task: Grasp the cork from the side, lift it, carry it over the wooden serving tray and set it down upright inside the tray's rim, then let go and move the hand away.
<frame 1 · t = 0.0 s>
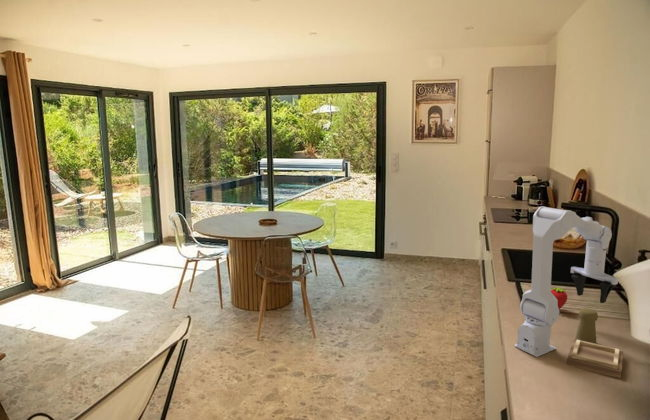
hand: (591, 298, 149), 10 cm above the counter, tool pointing down, fingers open, 7 cm apart
strawberry: (557, 310, 165), on the counter
wooden serving tray: (594, 361, 129), on the counter
cork: (585, 342, 140), on the counter
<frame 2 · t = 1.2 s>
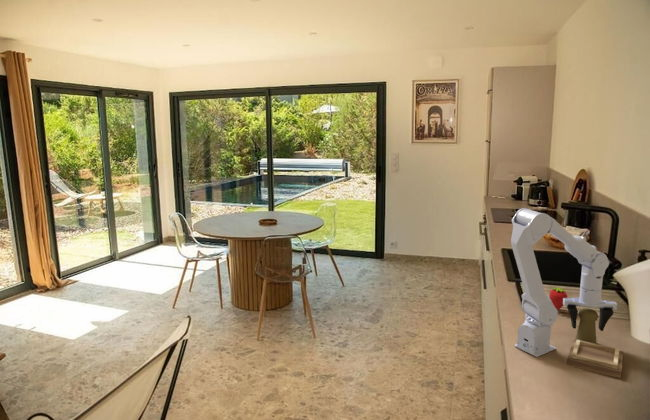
hand: (587, 328, 139), 5 cm above the counter, tool pointing down, fingers open, 7 cm apart
nothing on the counter moved.
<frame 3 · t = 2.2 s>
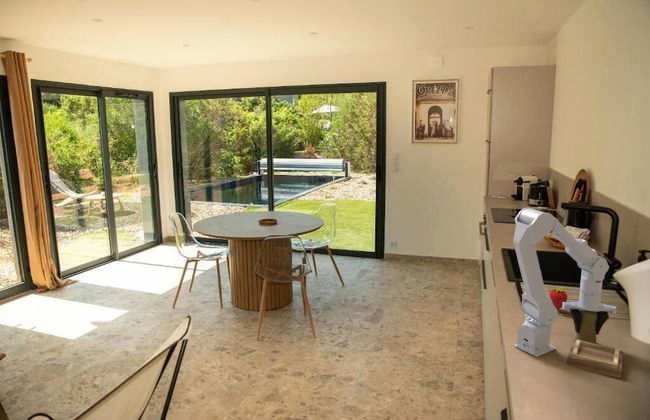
hand: (586, 332, 139), 3 cm above the counter, tool pointing down, fingers closed on cork, 5 cm apart
cork: (585, 342, 140), on the counter, touching gripper
everything else where it was.
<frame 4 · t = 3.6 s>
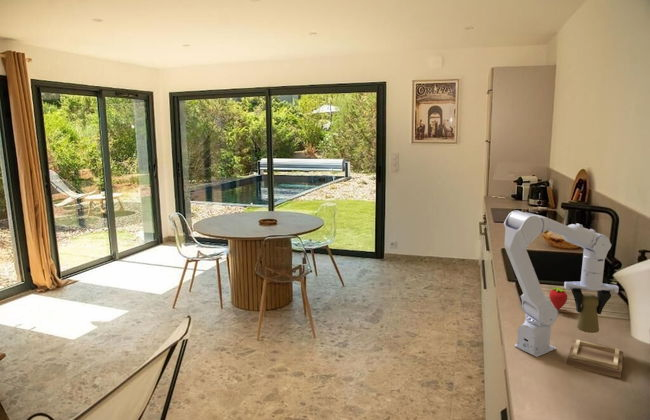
hand: (588, 312, 138), 10 cm above the counter, tool pointing down, fingers closed on cork, 5 cm apart
cork: (587, 329, 139), point 5 cm above the counter, touching gripper
everything else where it was.
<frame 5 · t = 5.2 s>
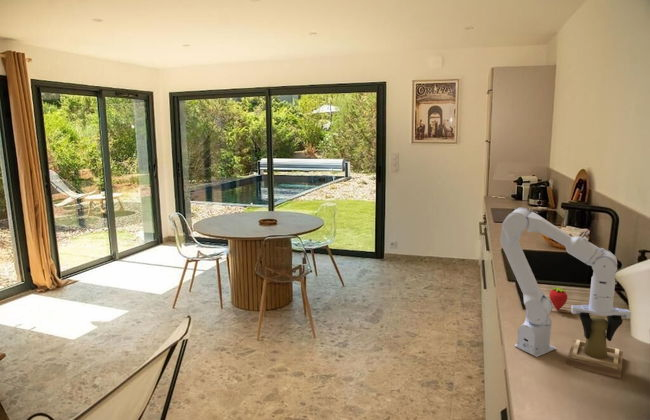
hand: (597, 338, 127), 7 cm above the counter, tool pointing down, fingers closed on cork, 5 cm apart
cork: (595, 353, 129), point 2 cm above the counter, touching wooden serving tray, gripper
everything else where it was.
when the fingers open (7 cm above the counter, at t = 6.2 s): cork stays where it is, resting on wooden serving tray.
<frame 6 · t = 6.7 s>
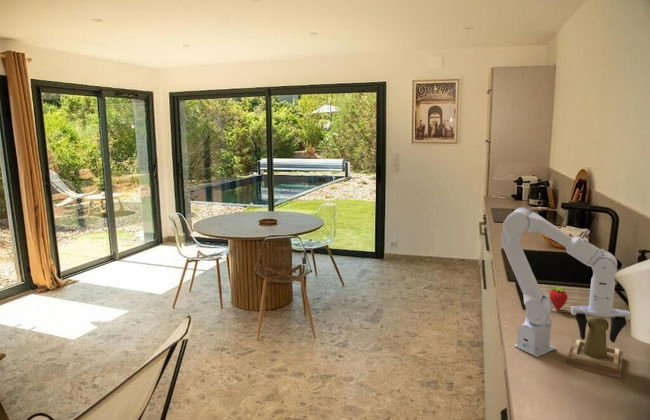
hand: (597, 339, 127), 7 cm above the counter, tool pointing down, fingers open, 7 cm apart
cork: (594, 354, 129), point 2 cm above the counter, touching wooden serving tray
everything else where it was.
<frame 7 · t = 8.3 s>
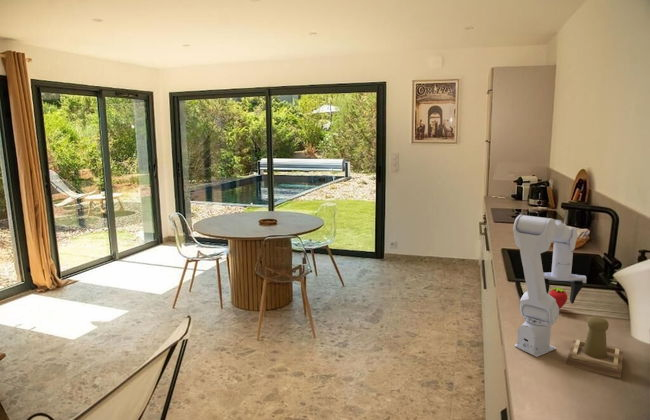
hand: (558, 301, 146), 10 cm above the counter, tool pointing down, fingers open, 7 cm apart
nothing on the counter moved.
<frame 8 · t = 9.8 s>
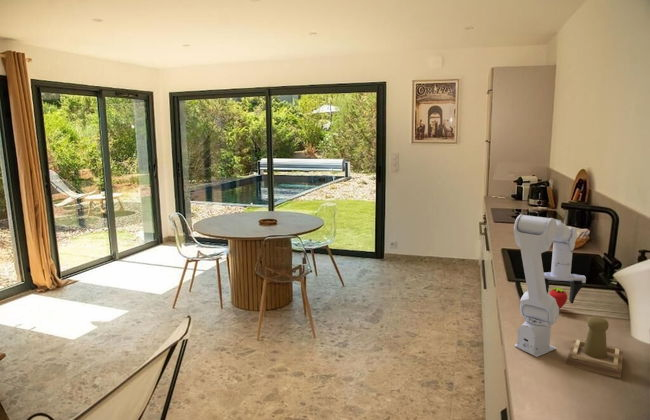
hand: (558, 301, 146), 10 cm above the counter, tool pointing down, fingers open, 7 cm apart
nothing on the counter moved.
at the end: cork 1.0 cm off-centre on the wooden serving tray, point 1.8 cm above the wooden serving tray's base; cork tilted 0°; the gripper is holding nothing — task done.
